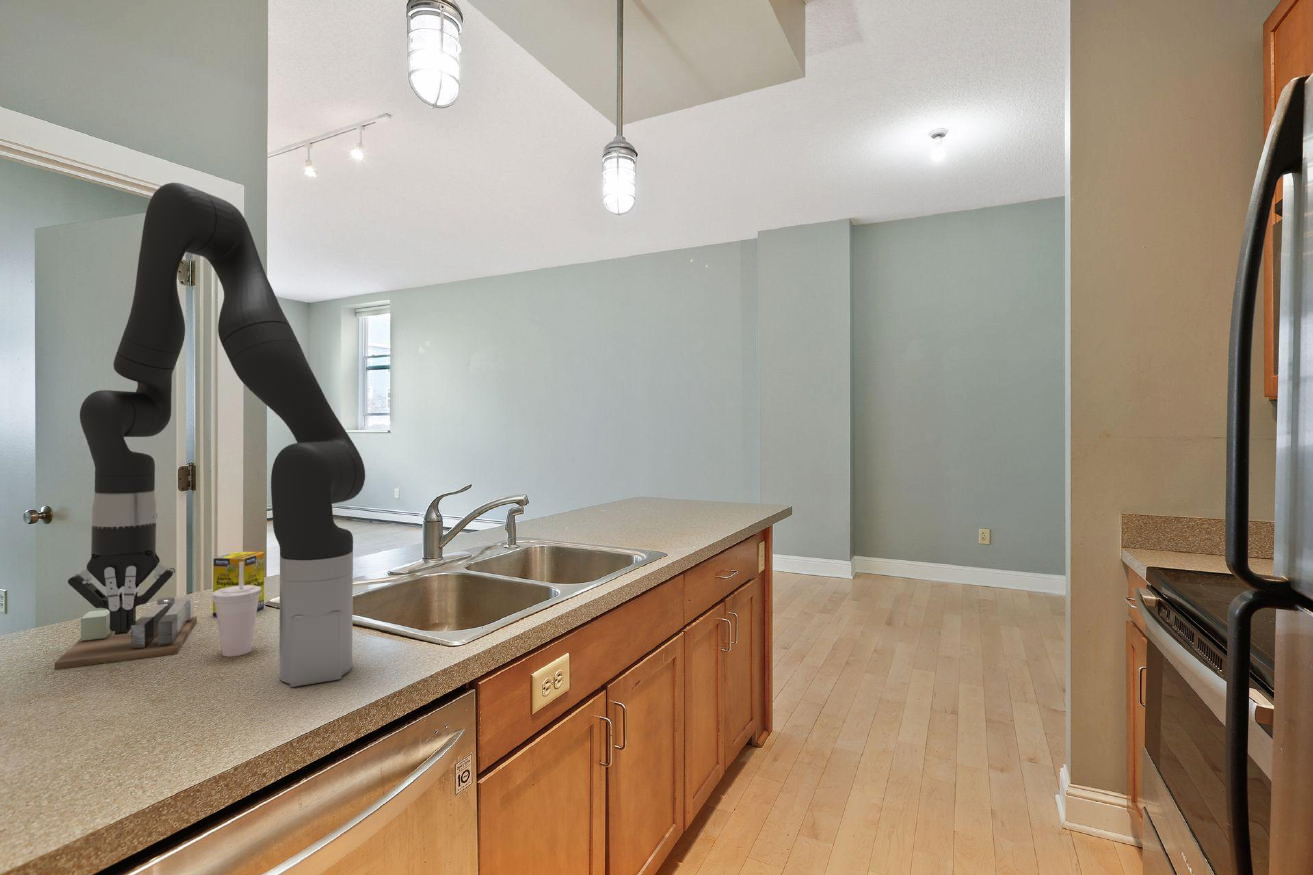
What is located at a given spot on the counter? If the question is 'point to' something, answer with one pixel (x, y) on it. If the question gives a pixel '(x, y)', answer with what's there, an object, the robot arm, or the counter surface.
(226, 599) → the smoothie
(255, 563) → the supplement box
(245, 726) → the counter surface
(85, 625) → the tab
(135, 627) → the bar
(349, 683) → the counter surface
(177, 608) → the fixed jaw
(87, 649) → the walnut board
